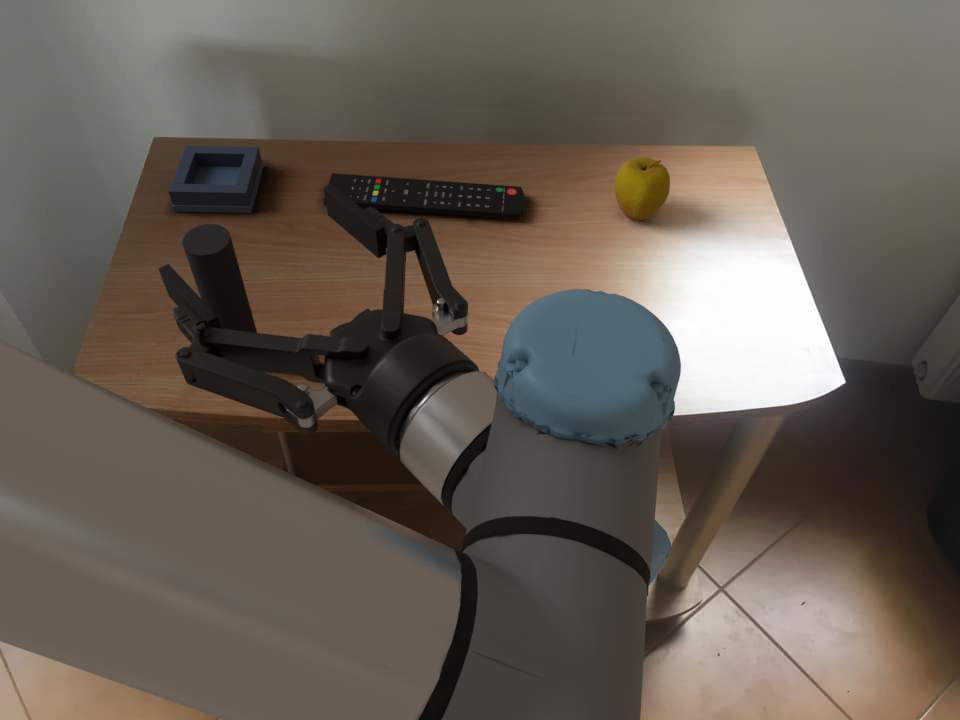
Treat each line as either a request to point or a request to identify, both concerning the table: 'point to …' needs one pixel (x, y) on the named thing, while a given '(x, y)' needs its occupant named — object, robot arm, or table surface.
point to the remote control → (432, 196)
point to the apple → (641, 187)
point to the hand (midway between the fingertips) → (253, 237)
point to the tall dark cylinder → (219, 276)
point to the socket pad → (216, 179)
